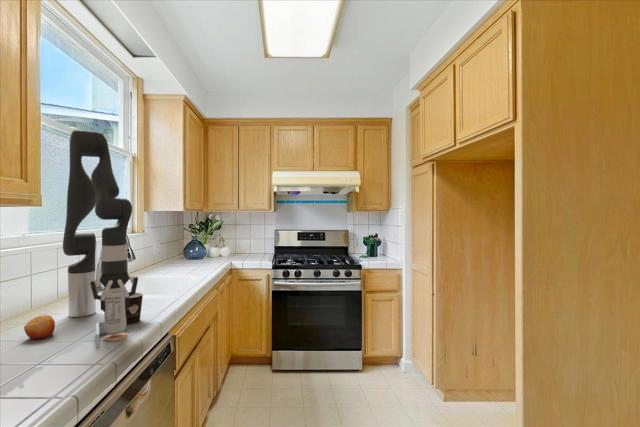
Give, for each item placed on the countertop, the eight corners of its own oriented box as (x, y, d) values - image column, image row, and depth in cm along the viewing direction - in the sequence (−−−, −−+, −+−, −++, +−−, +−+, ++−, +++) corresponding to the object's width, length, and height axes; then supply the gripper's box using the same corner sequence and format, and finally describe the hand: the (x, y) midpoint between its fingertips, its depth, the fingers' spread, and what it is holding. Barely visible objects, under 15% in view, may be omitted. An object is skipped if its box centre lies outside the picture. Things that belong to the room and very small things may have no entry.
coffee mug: (144, 317, 139) (143, 291, 139) (141, 323, 131) (141, 296, 131) (110, 320, 135) (109, 294, 134) (105, 327, 127) (105, 300, 126)
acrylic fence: (96, 333, 120) (96, 322, 120) (126, 329, 125) (126, 317, 125) (96, 347, 108) (96, 334, 108) (129, 341, 113) (129, 329, 113)
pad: (103, 336, 118) (103, 335, 118) (126, 332, 122) (126, 331, 122) (103, 342, 112) (103, 341, 112) (128, 338, 116) (128, 337, 116)
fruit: (65, 327, 124) (56, 310, 119) (51, 346, 117) (41, 329, 113) (41, 327, 123) (31, 311, 119) (26, 346, 117) (15, 330, 112)
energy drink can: (129, 329, 120) (129, 285, 120) (118, 335, 114) (118, 289, 114) (111, 329, 120) (111, 285, 120) (100, 335, 114) (100, 289, 114)
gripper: (137, 255, 124) (138, 304, 124) (88, 259, 116) (89, 310, 116) (140, 258, 117) (140, 309, 118) (88, 261, 110) (89, 316, 110)
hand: (115, 309), depth 117 cm, fingers closed on energy drink can, 5 cm apart
